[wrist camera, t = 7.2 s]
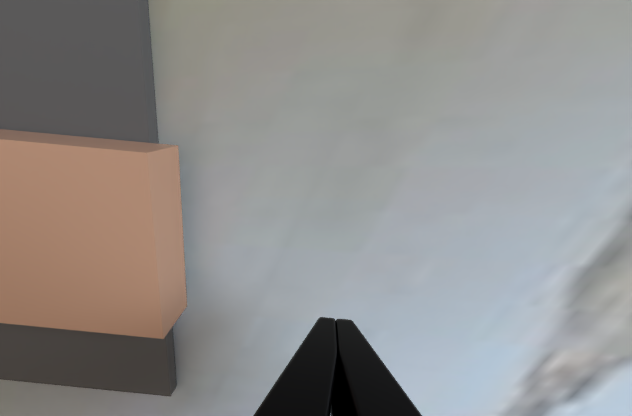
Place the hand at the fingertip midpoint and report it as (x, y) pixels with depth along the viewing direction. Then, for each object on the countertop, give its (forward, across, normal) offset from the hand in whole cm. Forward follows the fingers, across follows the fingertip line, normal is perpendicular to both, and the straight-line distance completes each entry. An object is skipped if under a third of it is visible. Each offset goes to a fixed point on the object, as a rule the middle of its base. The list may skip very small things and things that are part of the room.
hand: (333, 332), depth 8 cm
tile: (+4, +6, 0) cm, 7 cm away
